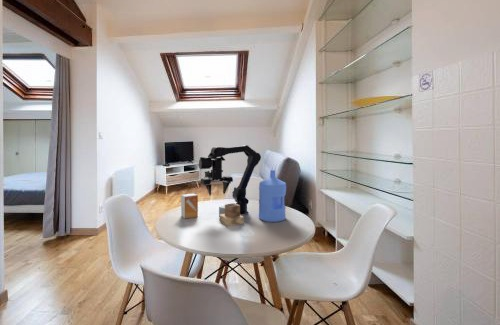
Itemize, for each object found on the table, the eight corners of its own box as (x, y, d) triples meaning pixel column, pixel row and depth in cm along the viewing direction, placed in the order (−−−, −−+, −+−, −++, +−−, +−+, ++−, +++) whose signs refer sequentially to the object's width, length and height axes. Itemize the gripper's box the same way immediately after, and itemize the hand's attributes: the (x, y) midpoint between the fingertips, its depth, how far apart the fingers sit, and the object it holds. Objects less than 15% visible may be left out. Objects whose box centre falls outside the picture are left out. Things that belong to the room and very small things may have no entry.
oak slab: (235, 218, 148) (235, 212, 148) (243, 224, 139) (243, 216, 139) (219, 221, 143) (219, 214, 143) (226, 227, 135) (227, 219, 134)
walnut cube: (233, 213, 145) (233, 203, 145) (239, 215, 141) (240, 205, 140) (224, 215, 142) (224, 204, 141) (231, 217, 137) (231, 207, 136)
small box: (184, 219, 146) (184, 196, 144) (181, 216, 151) (180, 194, 150) (198, 216, 150) (197, 195, 149) (194, 214, 155) (193, 193, 154)
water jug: (254, 219, 146) (254, 171, 143) (265, 212, 159) (266, 168, 157) (279, 224, 138) (280, 173, 136) (289, 216, 152) (290, 170, 149)
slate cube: (226, 214, 155) (226, 204, 154) (233, 216, 151) (233, 206, 151) (219, 216, 150) (219, 206, 150) (226, 219, 147) (226, 208, 146)
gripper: (224, 166, 161) (224, 190, 162) (196, 167, 150) (196, 193, 152) (233, 167, 152) (233, 193, 153) (204, 169, 141) (204, 197, 143)
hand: (217, 194), depth 151 cm, fingers open, 9 cm apart
